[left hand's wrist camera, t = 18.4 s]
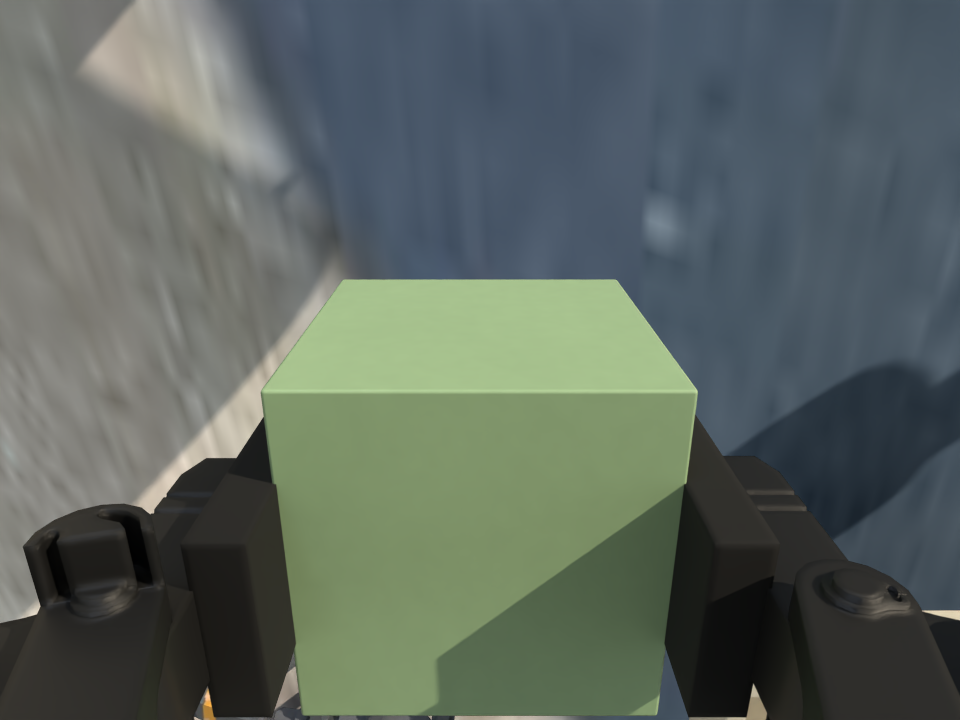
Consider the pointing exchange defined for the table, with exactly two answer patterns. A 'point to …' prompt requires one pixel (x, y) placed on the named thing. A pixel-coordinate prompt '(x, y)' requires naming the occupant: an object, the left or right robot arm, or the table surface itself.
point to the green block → (479, 498)
